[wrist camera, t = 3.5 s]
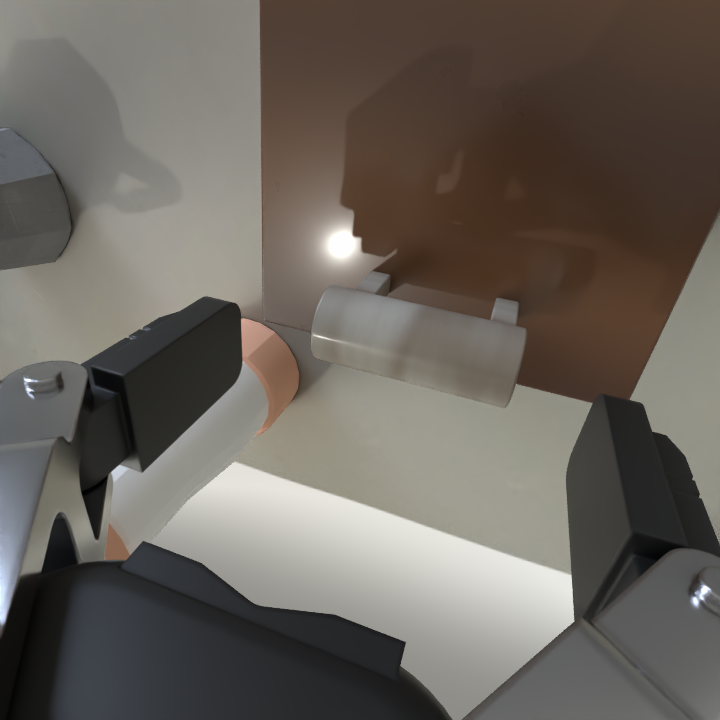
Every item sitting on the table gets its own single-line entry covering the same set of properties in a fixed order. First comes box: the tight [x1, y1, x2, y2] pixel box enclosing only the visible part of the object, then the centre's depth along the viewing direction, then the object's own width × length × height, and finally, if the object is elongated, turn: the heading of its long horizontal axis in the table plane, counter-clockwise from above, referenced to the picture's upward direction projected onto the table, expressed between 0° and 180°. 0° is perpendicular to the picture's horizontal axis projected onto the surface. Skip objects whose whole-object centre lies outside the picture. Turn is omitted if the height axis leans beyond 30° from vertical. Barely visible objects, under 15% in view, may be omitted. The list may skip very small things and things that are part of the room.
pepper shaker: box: [105, 318, 299, 560], centre depth 25 cm, size 7×7×19 cm
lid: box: [260, 0, 720, 408], centre depth 11 cm, size 16×13×5 cm
